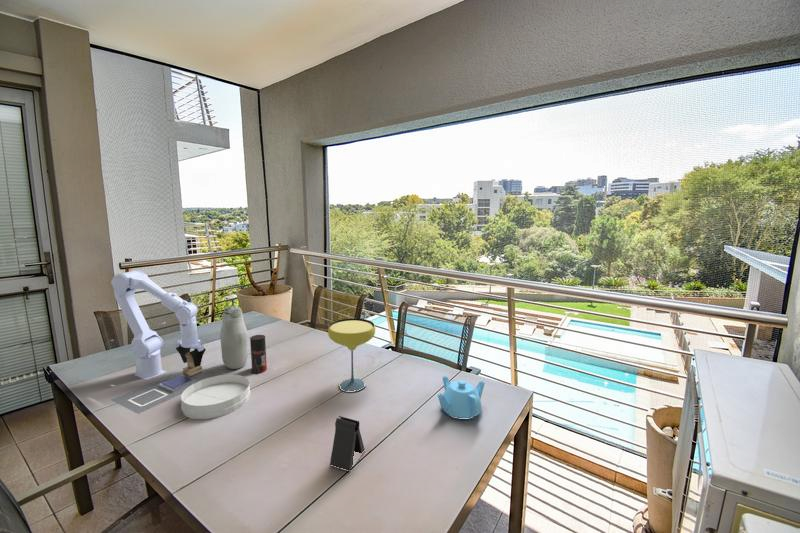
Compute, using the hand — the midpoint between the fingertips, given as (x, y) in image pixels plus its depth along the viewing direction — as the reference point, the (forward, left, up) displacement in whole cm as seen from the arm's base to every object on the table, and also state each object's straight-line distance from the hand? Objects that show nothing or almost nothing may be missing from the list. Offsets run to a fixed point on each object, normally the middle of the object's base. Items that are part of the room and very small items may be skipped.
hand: (192, 363), depth 142 cm
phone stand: (+86, -10, -5) cm, 87 cm away
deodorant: (+21, +16, -5) cm, 27 cm away
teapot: (+107, +28, -5) cm, 111 cm away
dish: (+27, -8, -5) cm, 29 cm away
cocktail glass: (+64, +24, -5) cm, 68 cm away
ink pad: (+4, -9, -4) cm, 10 cm away
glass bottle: (+10, +13, -5) cm, 17 cm away
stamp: (0, 0, -4) cm, 4 cm away
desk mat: (+3, -11, -5) cm, 12 cm away
